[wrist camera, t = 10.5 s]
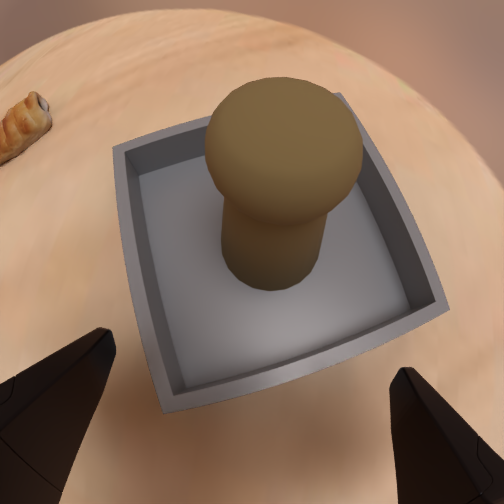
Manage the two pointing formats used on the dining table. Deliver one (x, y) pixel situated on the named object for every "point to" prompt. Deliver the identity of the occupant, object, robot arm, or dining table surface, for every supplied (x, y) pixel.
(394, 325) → the grey bin
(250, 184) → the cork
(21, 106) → the pastry
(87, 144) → the dining table surface
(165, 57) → the dining table surface
